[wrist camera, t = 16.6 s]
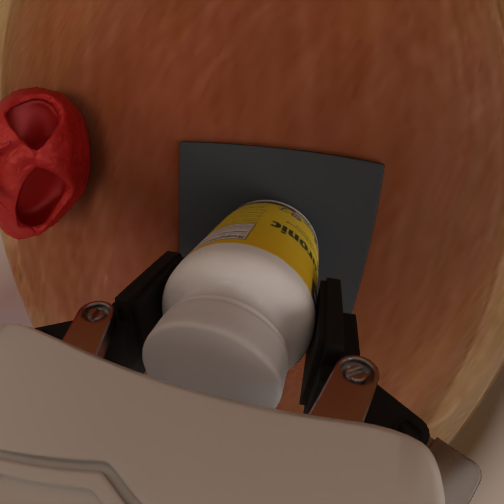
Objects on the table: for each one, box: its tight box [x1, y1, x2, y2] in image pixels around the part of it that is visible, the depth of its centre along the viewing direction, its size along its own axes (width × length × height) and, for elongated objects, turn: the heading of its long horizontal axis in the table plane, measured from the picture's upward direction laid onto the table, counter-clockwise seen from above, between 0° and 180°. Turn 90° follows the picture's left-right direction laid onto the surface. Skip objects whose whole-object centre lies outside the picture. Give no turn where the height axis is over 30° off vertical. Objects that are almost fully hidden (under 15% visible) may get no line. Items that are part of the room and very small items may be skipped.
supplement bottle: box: [142, 200, 319, 409], centre depth 12 cm, size 5×5×10 cm
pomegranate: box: [0, 87, 91, 239], centre depth 14 cm, size 10×10×9 cm
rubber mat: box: [179, 142, 385, 314], centre depth 17 cm, size 11×11×1 cm
